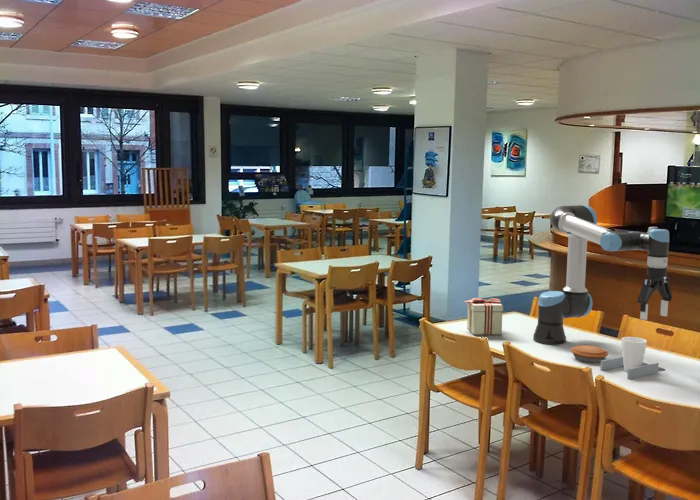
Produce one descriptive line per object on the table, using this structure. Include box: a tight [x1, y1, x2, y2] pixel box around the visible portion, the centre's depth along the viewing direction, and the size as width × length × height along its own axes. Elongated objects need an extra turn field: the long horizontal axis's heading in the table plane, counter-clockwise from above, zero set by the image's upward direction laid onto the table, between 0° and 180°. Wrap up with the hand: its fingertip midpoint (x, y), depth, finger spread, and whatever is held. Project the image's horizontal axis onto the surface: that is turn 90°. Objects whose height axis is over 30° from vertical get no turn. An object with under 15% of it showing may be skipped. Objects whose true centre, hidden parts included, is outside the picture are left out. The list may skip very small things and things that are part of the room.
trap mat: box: [642, 362, 666, 373], centre depth 272 cm, size 12×6×1 cm, turn 30°
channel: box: [600, 355, 659, 380], centre depth 266 cm, size 14×18×4 cm
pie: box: [570, 344, 610, 364], centre depth 283 cm, size 15×16×5 cm
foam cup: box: [621, 336, 648, 373], centre depth 266 cm, size 10×9×13 cm
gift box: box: [463, 297, 504, 336], centre depth 329 cm, size 17×18×17 cm
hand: (653, 317), depth 270 cm, fingers open, 13 cm apart
